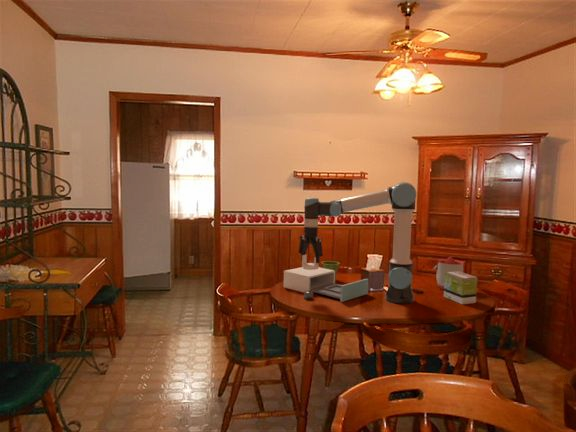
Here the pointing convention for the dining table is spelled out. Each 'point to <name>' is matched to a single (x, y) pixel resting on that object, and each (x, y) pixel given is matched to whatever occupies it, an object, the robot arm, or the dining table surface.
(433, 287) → the dining table surface
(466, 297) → the tea box
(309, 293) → the grey knob
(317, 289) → the drawer
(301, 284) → the white drawer box
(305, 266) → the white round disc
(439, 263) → the citrus juicer
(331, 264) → the plant pot
